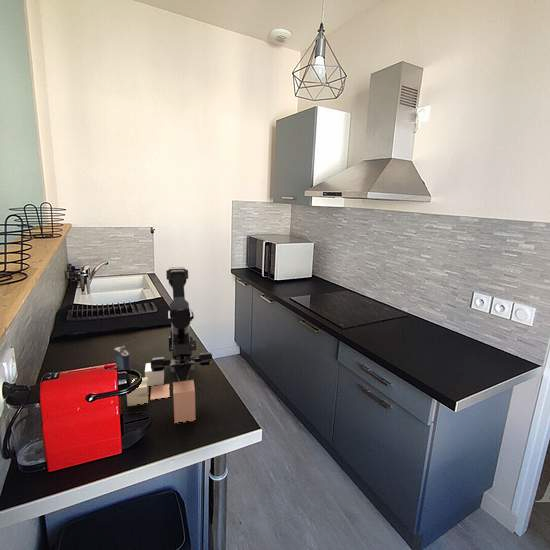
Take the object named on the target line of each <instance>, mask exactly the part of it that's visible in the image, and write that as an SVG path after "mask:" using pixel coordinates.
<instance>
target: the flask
mask: <svg viewBox="0 0 550 550" xmlns="http://www.w3.org/2000/svg"><path fill="white" fill-rule="evenodd" d="M125 347H126V346H125V345H123V346H119V347H118V346H117V347H115V348H114V349H113V351H114V360H115V365H116V364H117V366H118V369H121V370H130V371H131V362H130V361H131V360H130V353H129V352H128V351H127V350H126V348H125Z"/></svg>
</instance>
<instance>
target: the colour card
mask: <svg viewBox="0 0 550 550" xmlns="http://www.w3.org/2000/svg"><path fill="white" fill-rule="evenodd" d="M169 388H170V383H166V384H165V383H164V385H157V386H151V387H150V400H151V401H156V400H155V399H158V400H162V399H161V398H165V399H169V398H168V397H171V396H170V394H171V393H170V390H171V389H169Z"/></svg>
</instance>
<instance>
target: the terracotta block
mask: <svg viewBox="0 0 550 550" xmlns="http://www.w3.org/2000/svg"><path fill="white" fill-rule="evenodd" d="M172 389H173V390H172V392H173V415H174V416H173V418H174V424H175V423H177V424H179V423H178V422H183V423H187V422H186V421H189V422H195V421H194V420H196V390H195V382H194V379H189V380H188V379H187V381H184V380H183V381H180V382H179V381H173V382H172Z"/></svg>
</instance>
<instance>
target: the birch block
mask: <svg viewBox="0 0 550 550" xmlns="http://www.w3.org/2000/svg"><path fill="white" fill-rule="evenodd" d="M141 378H142V382H141V384H140V385H139V387H138V388H136V389H135V390H134V391H132V392H131V393H129V394H127V393H126V403H127V404H126V405H127V407H132V406H138V405H137V404H140V405H145V404H144V403H147V404H149V396H148V395H149V394H150V391H149V390H150V389H149V388H150V387H148V377H145V376H144V377H141ZM132 379H133V380H132V382H131V383H133V382H134V381H135V379H136V378H132Z"/></svg>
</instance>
